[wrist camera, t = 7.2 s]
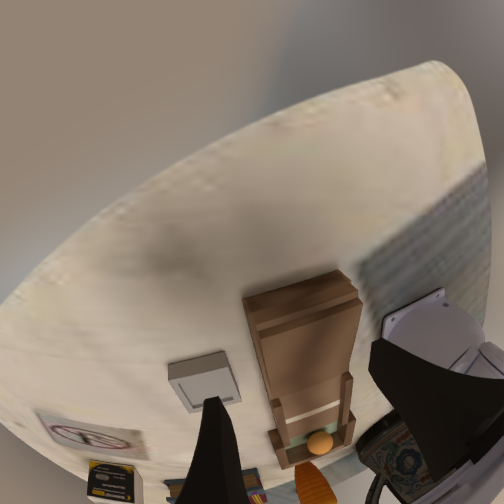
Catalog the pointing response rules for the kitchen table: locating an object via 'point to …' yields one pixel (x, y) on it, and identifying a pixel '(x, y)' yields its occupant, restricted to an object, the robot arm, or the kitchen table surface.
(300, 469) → the carrot
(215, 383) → the gray box
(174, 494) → the decorative book
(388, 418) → the beer stein
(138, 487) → the medicine bottle
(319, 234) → the kitchen table surface
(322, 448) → the ball
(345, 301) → the brown wooden shallow tray
